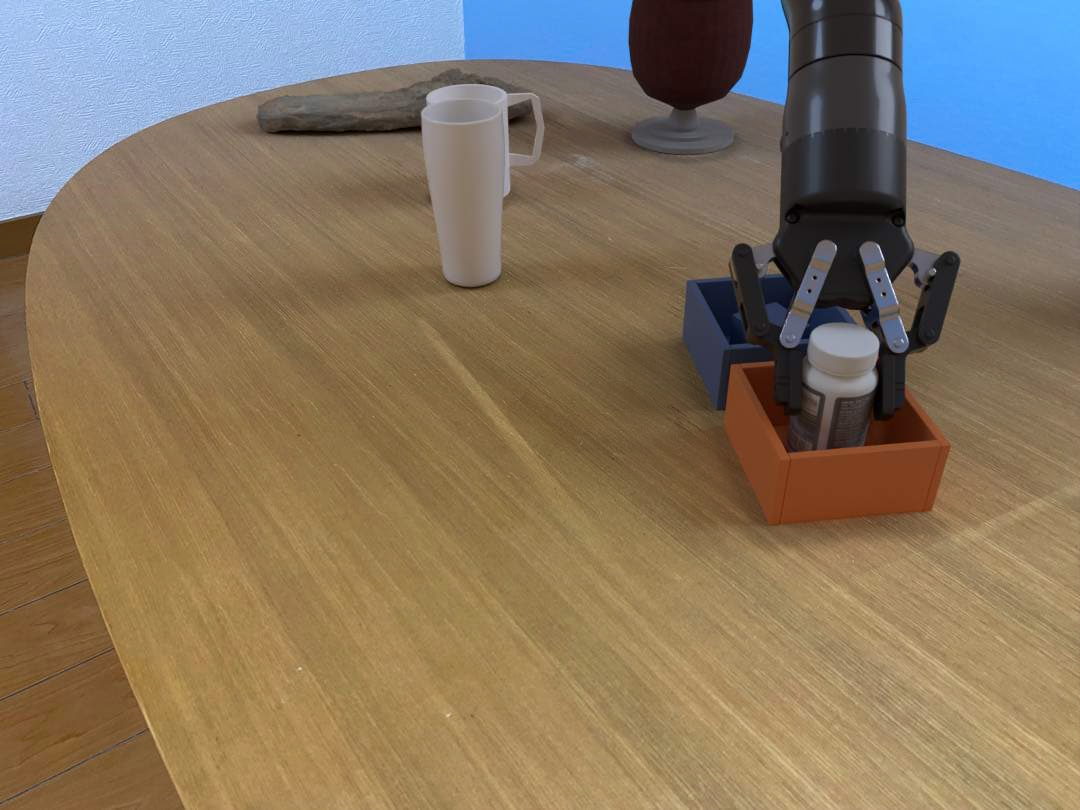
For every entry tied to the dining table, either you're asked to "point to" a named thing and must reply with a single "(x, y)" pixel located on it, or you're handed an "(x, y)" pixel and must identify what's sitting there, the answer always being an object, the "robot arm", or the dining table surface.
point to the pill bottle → (836, 389)
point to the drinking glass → (466, 186)
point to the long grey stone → (371, 106)
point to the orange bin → (831, 458)
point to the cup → (503, 101)
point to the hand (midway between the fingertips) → (838, 415)
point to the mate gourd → (687, 67)
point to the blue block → (775, 317)
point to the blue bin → (712, 327)
